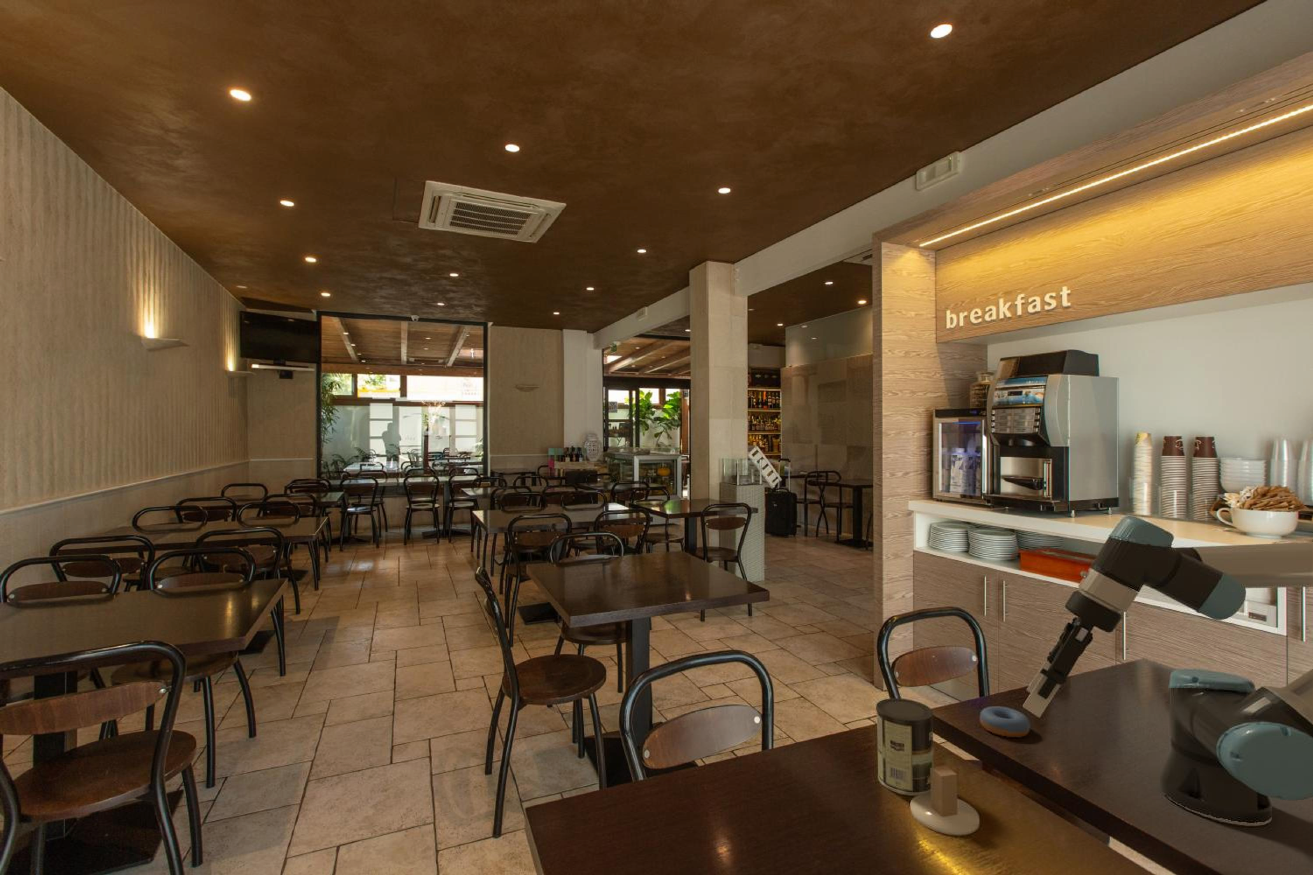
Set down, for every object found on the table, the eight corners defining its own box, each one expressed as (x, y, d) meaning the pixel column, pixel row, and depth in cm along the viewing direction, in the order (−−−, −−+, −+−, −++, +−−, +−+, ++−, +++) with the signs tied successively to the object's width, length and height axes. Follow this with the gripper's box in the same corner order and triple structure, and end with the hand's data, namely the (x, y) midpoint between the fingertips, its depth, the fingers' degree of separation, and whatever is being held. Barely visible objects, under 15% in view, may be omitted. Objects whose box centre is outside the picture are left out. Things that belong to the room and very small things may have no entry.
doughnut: (1042, 735, 137) (1039, 713, 138) (1005, 744, 135) (1002, 722, 135) (1006, 720, 147) (1003, 700, 147) (971, 728, 144) (968, 708, 145)
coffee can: (927, 769, 124) (926, 699, 124) (940, 799, 114) (939, 722, 114) (873, 765, 126) (872, 695, 126) (881, 793, 116) (880, 718, 116)
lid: (950, 794, 116) (949, 751, 116) (994, 830, 105) (993, 783, 105) (897, 802, 114) (896, 759, 114) (937, 840, 103) (936, 792, 103)
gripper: (1074, 584, 119) (1015, 675, 122) (1076, 593, 98) (1005, 703, 101) (1118, 607, 115) (1055, 701, 118) (1130, 622, 94) (1054, 736, 97)
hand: (1032, 702), depth 109 cm, fingers open, 13 cm apart
